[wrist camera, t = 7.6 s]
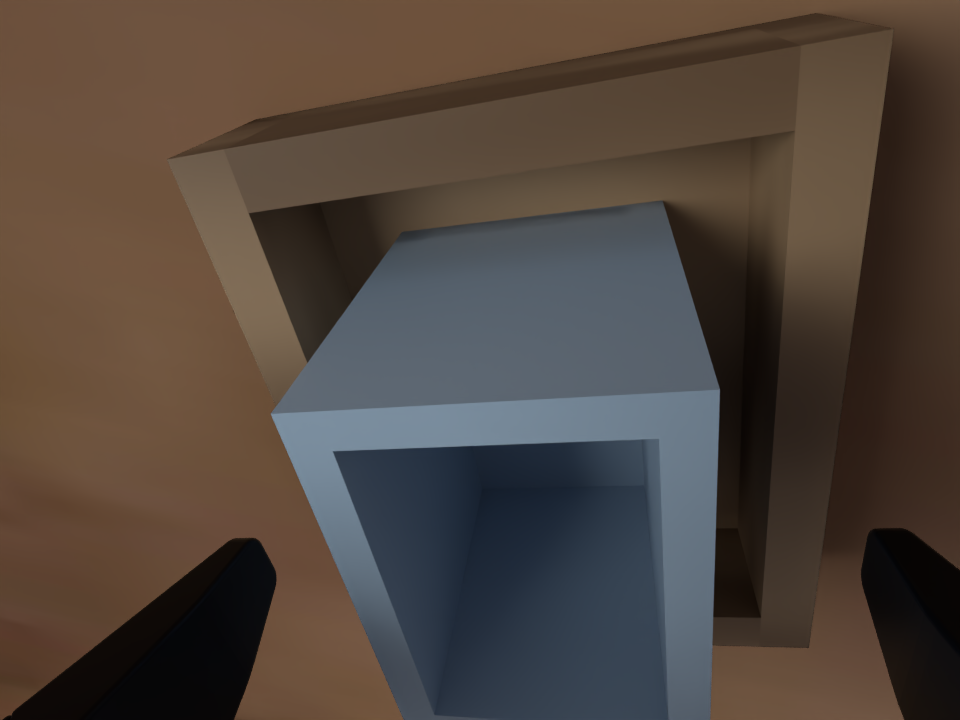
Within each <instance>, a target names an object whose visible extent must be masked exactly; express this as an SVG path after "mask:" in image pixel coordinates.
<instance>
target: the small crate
mask: <svg viewBox="0 0 960 720" xmlns="http://www.w3.org/2000/svg"><path fill="white" fill-rule="evenodd" d="M719 404H720V388H719V385H718V382H717V378H716V375H715V372H714V369H713V365H712V362H711V359H710V355H709V352H708V349H707V346H706V342H705V339H704V336H703V332H702V329H701V326H700V322H699V319H698V316H697V313H696V309H695V306H694V303H693V299H692V296H691V293H690V290H689V286H688V283H687V280H686V276H685V273H684V270H683V266H682V263H681V260H680V257H679V253H678V250H677V247H676V243H675V240H674V237H673V234H672V230H671V227H670V224H669V220H668V217H667V214H666V211H665V207H664V204H663V201H662V200H661V201H653V202H645V203H637V204H628V205H620V206H612V207H603V208H595V209H587V210H579V211H570V212H562V213H554V214H546V215H537V216H529V217H521V218H512V219H504V220H496V221H488V222H479V223H471V224H463V225H455V226H446V227H438V228H430V229H422V230H413V231H405V232H402V233H401V234H400V235H399V237H398V238H397V240H396V241H395V242H394V244H393V245H392V247H391V248H390V249H389V251H388V252H387V253H386V255H385V256H384V258H383V259H382V260H381V262H380V263H379V265H378V266H377V267H376V269H375V270H374V272H373V273H372V274H371V276H370V277H369V278H368V280H367V281H366V283H365V284H364V285H363V287H362V288H361V290H360V291H359V292H358V294H357V295H356V296H355V298H354V299H353V301H352V302H351V303H350V305H349V306H348V308H347V309H346V310H345V312H344V313H343V315H342V316H341V317H340V319H339V320H338V321H337V323H336V324H335V326H334V327H333V328H332V330H331V331H330V333H329V334H328V335H327V337H326V338H325V339H324V341H323V342H322V344H321V345H320V346H319V348H318V349H317V351H316V352H315V353H314V355H313V356H312V358H311V359H310V360H309V362H308V363H307V364H306V366H305V367H304V369H303V370H302V371H301V373H300V374H299V376H298V377H297V378H296V380H295V381H294V382H293V384H292V385H291V387H290V388H289V389H288V391H287V392H286V394H285V395H284V396H283V398H282V399H281V401H280V402H279V403H278V405H277V406H276V407H275V409H274V410H273V412H272V413H271V415H272V418H273V420H274V422H275V425H276V427H277V429H278V432H279V434H280V436H281V438H282V441H283V443H284V445H285V448H286V450H287V452H288V455H289V457H290V459H291V461H292V464H293V466H294V468H295V471H296V473H297V475H298V478H299V480H300V482H301V484H302V487H303V489H304V491H305V494H306V496H307V498H308V501H309V503H310V505H311V508H312V510H313V512H314V514H315V517H316V519H317V521H318V524H319V526H320V528H321V530H322V533H323V535H324V537H325V540H326V542H327V544H328V547H329V549H330V551H331V554H332V556H333V558H334V560H335V563H336V565H337V567H338V570H339V572H340V574H341V577H342V579H343V581H344V583H345V586H346V588H347V590H348V593H349V595H350V597H351V600H352V602H353V604H354V606H355V609H356V611H357V613H358V616H359V618H360V620H361V623H362V625H363V627H364V629H365V632H366V634H367V636H368V639H369V641H370V643H371V646H372V648H373V650H374V652H375V655H376V657H377V659H378V662H379V664H380V666H381V669H382V671H383V673H384V675H385V678H386V680H387V682H388V685H389V687H390V689H391V692H392V694H393V696H394V698H395V701H396V703H397V705H398V708H399V710H400V712H401V715H402V717H403V719H404V720H710V707H711V673H712V639H713V606H714V572H715V538H716V505H717V471H718V437H719Z"/></svg>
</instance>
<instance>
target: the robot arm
mask: <svg viewBox="0 0 960 720" xmlns="http://www.w3.org/2000/svg"><path fill="white" fill-rule="evenodd" d="M861 579H862V585H863V589H864V593H865V596H866V599H867V603H868V606H869V609H870V613H871V616H872V619H873V623H874V626H875V629H876V633H877V636H878V639H879V643H880V646H881V649H882V653H883V656H884V659H885V663H886V666H887V669H888V673H889V676H890V679H891V683H892V686H893V689H894V692H895V695H896V698H897V702H898V705H899V707H900V710H901V712H902V715H903V718H904V720H960V570H959V569H958V568H956V567H955V566H954V565H953V564H951V563H950V562H949V561H948V560H946V559H945V558H944V557H943V556H941V555H940V554H939V553H937V552H936V551H935V550H934V549H932V548H931V547H930V546H929V545H927V544H926V543H925V542H924V541H922V540H921V539H920V538H919V537H917V536H916V535H915V534H913V533H912V532H910V531H908V530H906V529H903V528H878V529H872V530H871V531H870V532H869V534H868V537H867V542H866V547H865V553H864V558H863V563H862V568H861ZM275 587H276V571H275V569H274V567H273V565H272V563H271V561H270V559H269V557H268V555H267V553H266V552H265V550H264V548H263V546H262V544H261V543H260V541H259V540H257V539H256V538H235V539H232V540H230V541H228V542H227V543H226V544H224V545H223V546H222V547H221V548H219V549H218V550H217V551H216V552H214V553H213V554H212V555H210V556H209V557H208V558H207V559H205V560H204V561H203V562H202V563H200V564H199V565H198V566H197V567H195V568H194V569H193V570H191V571H190V572H189V573H188V574H186V575H185V576H184V577H183V578H181V579H180V580H179V581H178V582H176V583H175V584H174V585H173V586H171V587H170V588H169V589H167V590H166V591H165V592H164V593H162V594H161V595H160V596H159V597H157V598H156V599H155V600H154V601H152V602H151V603H150V604H148V605H147V606H146V607H145V608H143V609H142V610H141V611H140V612H138V613H137V614H136V615H135V616H133V617H132V618H131V619H130V620H128V621H127V622H126V623H124V624H123V625H122V626H121V627H119V628H118V629H117V630H116V631H114V632H113V633H112V634H111V635H109V636H108V637H107V638H105V639H104V640H103V641H102V642H100V643H99V644H98V645H97V646H95V647H94V648H93V649H92V650H90V651H89V652H88V653H86V654H85V655H84V656H83V657H81V658H80V659H79V660H78V661H76V662H75V663H74V664H73V665H71V666H70V667H69V668H67V669H66V670H65V671H64V672H62V673H61V674H60V675H59V676H57V677H56V678H55V679H54V680H52V681H51V682H50V683H48V684H47V685H46V686H45V687H43V688H42V689H41V690H40V691H38V692H37V693H36V694H35V695H33V696H32V697H31V698H30V699H28V700H27V701H26V702H24V703H23V704H22V705H21V706H19V707H18V708H17V709H16V710H15V711H13V713H12V716H11V715H9V716H7V717H5V718H4V719H3V720H234V718H235V715H236V713H237V710H238V708H239V705H240V702H241V700H242V697H243V695H244V692H245V689H246V686H247V684H248V681H249V678H250V675H251V672H252V668H253V665H254V662H255V658H256V655H257V651H258V648H259V644H260V641H261V637H262V633H263V630H264V626H265V623H266V619H267V615H268V612H269V608H270V605H271V601H272V598H273V594H274V590H275Z"/></svg>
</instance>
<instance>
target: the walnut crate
mask: <svg viewBox="0 0 960 720" xmlns="http://www.w3.org/2000/svg"><path fill="white" fill-rule="evenodd" d="M893 32H894V29H892V28H887V27H882V26H877V25H872V24H867V23H862V22H857V21H852V20H847V19H842V18H837V17H832V16H827V15H822V14H817V13H815V14H810V15H804V16H799V17H794V18H789V19H783V20H778V21H773V22H768V23H762V24H757V25H752V26H746V27H741V28H736V29H731V30H725V31H720V32H715V33H710V34H704V35H699V36H694V37H688V38H683V39H678V40H673V41H667V42H662V43H657V44H652V45H646V46H641V47H636V48H631V49H625V50H620V51H615V52H609V53H604V54H599V55H594V56H588V57H583V58H578V59H573V60H567V61H562V62H557V63H551V64H546V65H541V66H536V67H530V68H525V69H520V70H515V71H509V72H504V73H499V74H494V75H488V76H483V77H478V78H472V79H467V80H462V81H457V82H451V83H446V84H441V85H436V86H430V87H425V88H420V89H414V90H409V91H404V92H399V93H393V94H388V95H383V96H378V97H372V98H367V99H362V100H357V101H351V102H346V103H341V104H335V105H330V106H325V107H320V108H314V109H309V110H304V111H299V112H293V113H288V114H283V115H277V116H272V117H267V118H262V119H256V120H254V121H252V122H249V123H247V124H245V125H243V126H240V127H238V128H236V129H234V130H231V131H229V132H227V133H225V134H223V135H220V136H218V137H216V138H214V139H211V140H209V141H207V142H205V143H203V144H200V145H198V146H196V147H194V148H191V149H189V150H187V151H185V152H183V153H180V154H178V155H176V156H174V157H171V158H169V159H167V161H168V163H169V165H170V168H171V170H172V172H173V174H174V177H175V179H176V181H177V183H178V186H179V188H180V190H181V193H182V195H183V197H184V199H185V202H186V204H187V206H188V208H189V211H190V213H191V215H192V217H193V220H194V222H195V224H196V227H197V229H198V231H199V233H200V236H201V238H202V240H203V242H204V245H205V247H206V249H207V251H208V254H209V256H210V258H211V261H212V263H213V265H214V267H215V270H216V272H217V274H218V276H219V279H220V281H221V283H222V285H223V288H224V290H225V292H226V295H227V297H228V299H229V301H230V304H231V306H232V308H233V310H234V313H235V315H236V317H237V319H238V322H239V324H240V326H241V329H242V331H243V333H244V335H245V338H246V340H247V342H248V344H249V347H250V349H251V351H252V353H253V356H254V358H255V360H256V363H257V365H258V367H259V369H260V372H261V374H262V376H263V378H264V381H265V383H266V385H267V387H268V390H269V392H270V394H271V397H272V399H273V401H274V403H275V406H277V405H278V403H279V402H280V401H281V399H282V398H283V396H284V395H285V394H286V392H287V391H288V389H289V388H290V387H291V385H292V384H293V382H294V381H295V380H296V378H297V377H298V376H299V374H300V373H301V371H302V370H303V369H304V367H305V366H306V364H307V363H308V362H309V360H310V359H311V358H312V356H313V355H314V353H315V352H316V351H317V349H318V348H319V346H320V345H321V344H322V342H323V341H324V339H325V338H326V337H327V335H328V334H329V333H330V331H331V330H332V328H333V327H334V326H335V324H336V323H337V321H338V320H339V319H340V317H341V316H342V315H343V313H344V312H345V310H346V309H347V308H348V306H349V305H350V303H351V302H352V301H353V299H354V298H355V296H356V295H357V294H358V292H359V291H360V290H361V288H362V287H363V285H364V284H365V283H366V281H367V280H368V278H369V277H370V276H371V274H372V273H373V272H374V270H375V269H376V267H377V266H378V265H379V263H380V262H381V260H382V259H383V258H384V256H385V255H386V253H387V252H388V251H389V249H390V248H391V247H392V245H393V244H394V242H395V241H396V240H397V238H398V237H399V235H400V234H401V233H402V232H405V231H413V230H422V229H430V228H438V227H446V226H455V225H463V224H471V223H479V222H488V221H496V220H504V219H512V218H521V217H529V216H537V215H546V214H554V213H562V212H570V211H579V210H587V209H595V208H603V207H612V206H620V205H628V204H637V203H645V202H653V201H661V200H662V201H663V204H664V207H665V211H666V214H667V217H668V220H669V224H670V227H671V230H672V234H673V237H674V240H675V243H676V247H677V250H678V253H679V257H680V260H681V263H682V266H683V270H684V273H685V276H686V280H687V283H688V286H689V290H690V293H691V296H692V299H693V303H694V306H695V309H696V313H697V316H698V319H699V322H700V326H701V329H702V332H703V336H704V339H705V342H706V346H707V349H708V352H709V355H710V359H711V362H712V365H713V369H714V372H715V375H716V378H717V382H718V385H719V388H720V404H719V437H718V471H717V505H716V538H715V572H714V606H713V639H712V645H716V646H755V647H794V648H809V642H810V635H811V627H812V620H813V613H814V606H815V598H816V591H817V584H818V577H819V569H820V562H821V555H822V548H823V540H824V533H825V526H826V519H827V511H828V504H829V497H830V490H831V482H832V475H833V468H834V461H835V453H836V446H837V439H838V432H839V424H840V417H841V410H842V403H843V395H844V388H845V381H846V373H847V366H848V359H849V352H850V344H851V337H852V330H853V323H854V315H855V308H856V301H857V294H858V286H859V279H860V272H861V265H862V257H863V250H864V243H865V236H866V228H867V221H868V214H869V207H870V199H871V192H872V185H873V178H874V170H875V163H876V156H877V149H878V141H879V134H880V127H881V120H882V112H883V105H884V98H885V90H886V83H887V76H888V69H889V61H890V54H891V47H892V40H893Z"/></svg>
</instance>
